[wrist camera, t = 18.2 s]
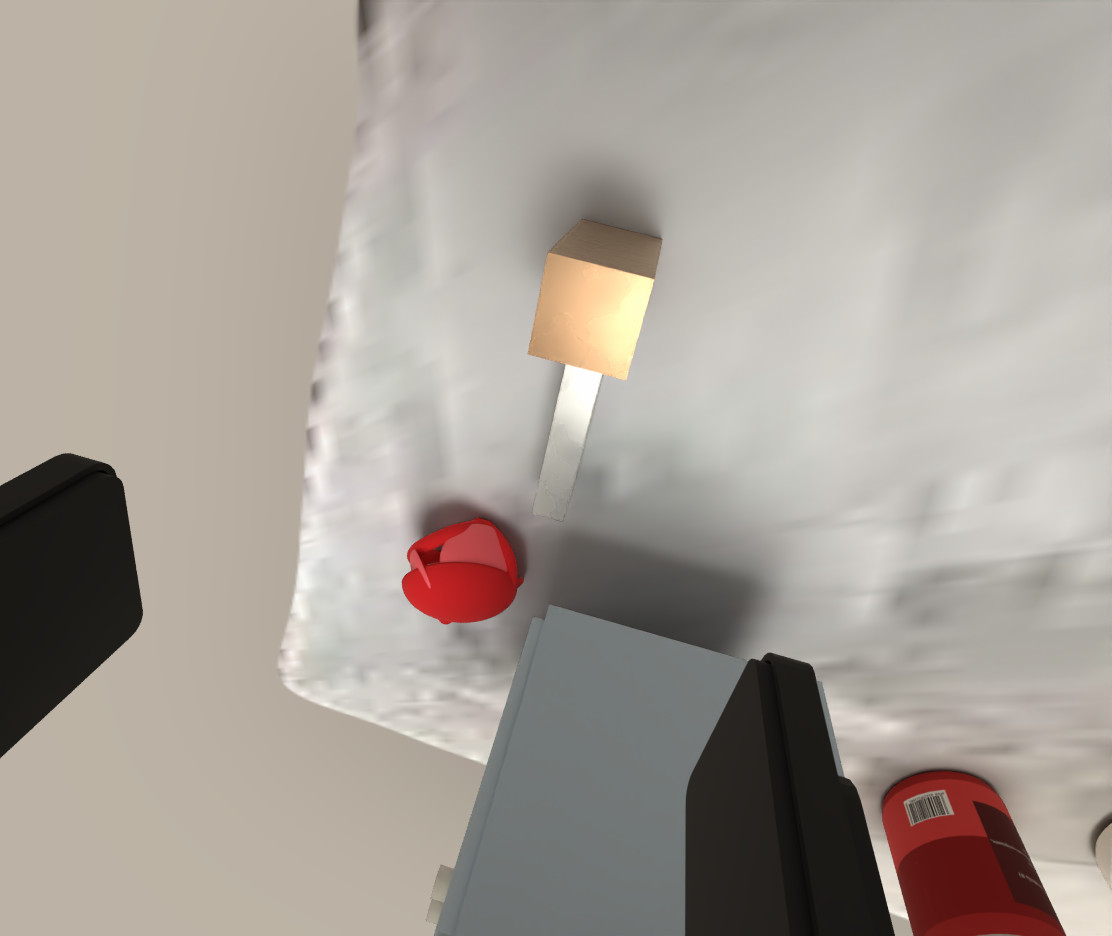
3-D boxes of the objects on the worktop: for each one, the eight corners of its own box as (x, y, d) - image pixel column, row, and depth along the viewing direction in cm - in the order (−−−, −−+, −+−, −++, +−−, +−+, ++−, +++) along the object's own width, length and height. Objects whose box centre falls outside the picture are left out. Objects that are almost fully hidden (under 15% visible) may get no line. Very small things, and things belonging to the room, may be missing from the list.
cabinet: (553, 506, 39) (385, 986, 18) (809, 577, 39) (967, 1174, 17) (511, 675, 47) (357, 1158, 25) (725, 737, 46) (759, 1295, 24)
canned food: (861, 823, 48) (904, 998, 38) (908, 754, 44) (969, 931, 34) (966, 851, 47) (1037, 1037, 38) (1024, 784, 43) (1119, 973, 34)
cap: (371, 565, 40) (407, 657, 39) (407, 531, 36) (449, 632, 35) (475, 532, 45) (510, 611, 44) (517, 498, 41) (557, 586, 40)
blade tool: (582, 219, 31) (548, 252, 24) (662, 239, 31) (654, 279, 23) (526, 477, 39) (486, 567, 31) (590, 495, 39) (566, 590, 31)
